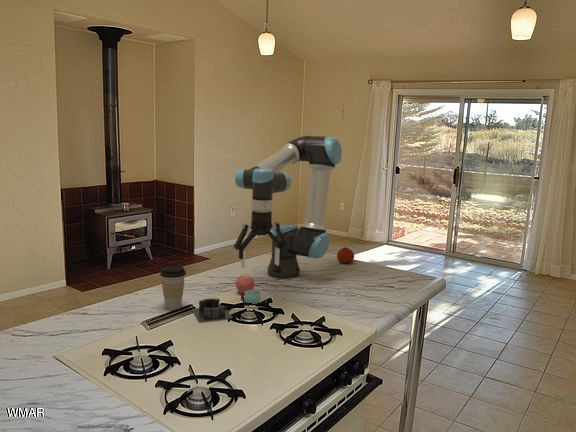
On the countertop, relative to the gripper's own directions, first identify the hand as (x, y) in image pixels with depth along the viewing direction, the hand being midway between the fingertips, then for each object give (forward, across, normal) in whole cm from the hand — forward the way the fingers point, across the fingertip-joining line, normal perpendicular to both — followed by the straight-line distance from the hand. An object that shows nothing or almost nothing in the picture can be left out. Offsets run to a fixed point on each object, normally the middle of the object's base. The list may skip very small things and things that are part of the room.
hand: (260, 266), depth 181 cm
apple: (+16, -1, +14) cm, 21 cm away
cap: (+16, -2, +1) cm, 16 cm away
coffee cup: (+16, -31, +8) cm, 36 cm away
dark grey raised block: (+16, -19, -3) cm, 25 cm away
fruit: (+15, +63, +42) cm, 77 cm away
